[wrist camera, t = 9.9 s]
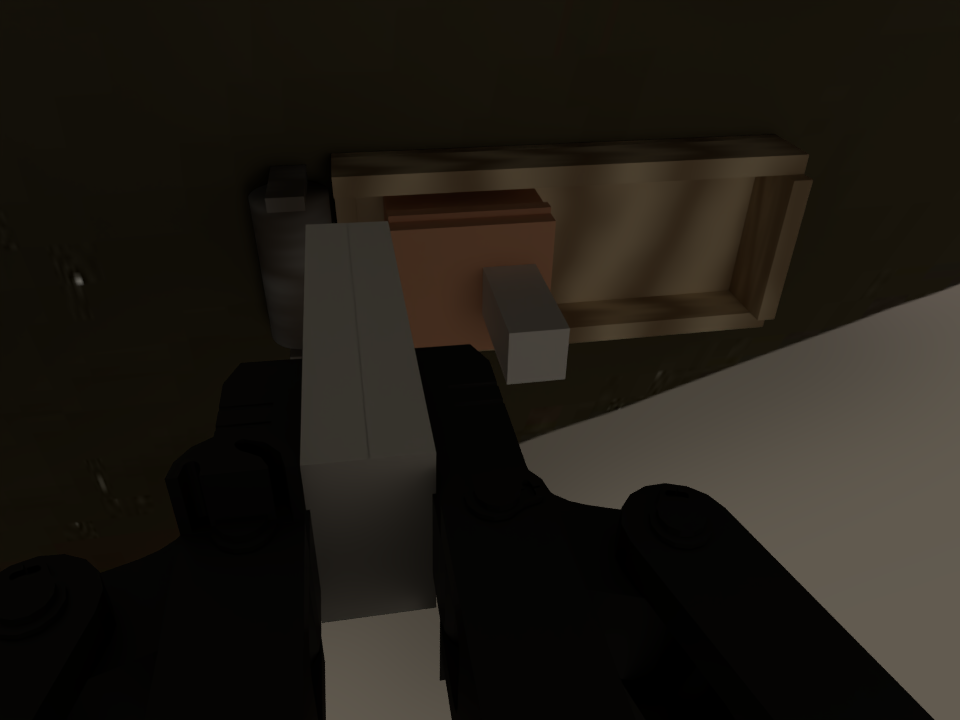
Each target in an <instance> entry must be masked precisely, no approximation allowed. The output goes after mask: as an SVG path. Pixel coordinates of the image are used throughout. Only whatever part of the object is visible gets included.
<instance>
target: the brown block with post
mask: <svg viewBox="0 0 960 720" xmlns="http://www.w3.org/2000/svg"><path fill="white" fill-rule="evenodd" d="M383 206H384V221H388V224H389V228H390V233H391V238H392V243H393V248H394V252H395V257H396V262H397V267H398V272H399V276H400V281H401V286H402V291H403V296H404V300H405V305H406V310H407V315H408V320H409V324H410V329H411V334H412V339H413V344H414V348H423V347H436V346H450V345H464V344H471V345H472V346H473V347H474V348H475V349H476V350H477V351H479V350H490V349H495V352H496V355H497V358H498V360H499V363H500V366H501V369H502V372H503V375H504V377H505V380H506V383H507V384H517V383H528V382H539V381H549V380H560V379H565V375H566V364H567V354H568V344H569V333H570V328H569V326H568V324H567V322H566V320H565V318H564V316H563V314H562V313H561V311H560V309H559V307H558V305H557V303H556V301H555V299H554V298H553V296H552V294H551V279H552V266H553V253H554V241H555V228H556V220H555V219H554V217H553V216H552V214H551V206H550V205H549V203H548V202H543V201H542V199H541V197H540V196H539V194H538V193H537V191H536V190H535V188H530V189H511V190H492V191H473V192H453V193H434V194H415V195H396V196H383Z"/></svg>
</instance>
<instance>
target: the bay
mask: <svg viewBox="0 0 960 720" xmlns="http://www.w3.org/2000/svg"><path fill="white" fill-rule="evenodd" d="M808 157H809V154H808V153H806V152H804V151H802V150H801V149H799V148H797V147H796V146H794V145H792V144H791V143H789V142H787V141H786V140H784V139H782V138H781V137H779V136H777V135H775V134H772V135H749V136H725V137H702V138H679V139H655V140H632V141H609V142H586V143H562V144H539V145H516V146H492V147H469V148H446V149H423V150H399V151H376V152H353V153H331V176H332V187H333V196H334V199H335V206H336V215H337V223H356V222H379V221H384V206H383V196H396V195H415V194H434V193H453V192H473V191H492V190H511V189H530V188H535V190H536V191H537V193H538V194H539V196H540V197H541V199H542V201H543V202H548V203H549V205H550V206H551V214H552V216H553V217H554V219H555V220H556V228H555V241H554V253H553V266H552V279H551V294H552V296H553V298H554V299H555V301H556V303H557V305H558V307H559V309H560V311H561V313H562V314H563V316H564V318H565V320H566V322H567V324H568V326H569V328H570V333H569V343H580V342H592V341H603V340H615V339H626V338H638V337H649V336H661V335H673V334H684V333H696V332H707V331H719V330H730V329H742V328H753V327H763V323H764V320H769V319H774V318H775V314H776V311H777V307H778V303H779V300H780V296H781V293H782V289H783V286H784V282H785V278H786V275H787V271H788V268H789V264H790V261H791V257H792V253H793V250H794V246H795V243H796V239H797V236H798V232H799V228H800V225H801V221H802V218H803V214H804V211H805V207H806V203H807V200H808V196H809V193H810V189H811V186H812V182H813V180H812V179H811V178H809V177H808V176H806V175H805V174H804V172H805V169H806V165H807V161H808ZM248 199H249V205H250V211H251V216H252V222H253V228H254V234H255V240H256V245H257V251H258V257H259V263H260V268H261V274H262V280H263V286H264V292H265V297H266V303H267V309H268V315H269V320H270V326H271V332H272V337H273V339H274V341H275V342H276V343H278V344H279V345H281V346H284V347H287V348H291V353H290V359H302V358H303V316H304V274H305V232H306V225H309V224H332V220H331V210H330V201H329V192H328V189H327V188H326V187H325V186H323V185H321V184H318V183H315V182H310V181H307V170H306V165H289V166H270V172H269V178H268V183H267V184H266V185H263V186H260V187H258V188H256V189H255V190H253V191H252V192H251V193H250V194H249V196H248ZM490 350H495V349H490ZM479 351H488V350H479Z"/></svg>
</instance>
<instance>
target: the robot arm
mask: <svg viewBox="0 0 960 720" xmlns="http://www.w3.org/2000/svg"><path fill="white" fill-rule="evenodd" d="M165 481H166V485H167V488H168V492H169V496H170V499H171V503H172V506H173V510H174V513H175V517H176V521H177V524H178V528H179V531H180V536H179V537H178V538H177V539H176V540H175V541H173V542H172V543H170V544H169V545H167V546H165V547H164V548H162V549H161V550H159V551H157V552H155V553H153V554H150V555H148V556H146V557H144V558H141V559H139V560H136V561H133V562H130V563H128V564H125V565H122V566H119V567H116V568H114V569H111V570H108V571H105V572H102V573H100V572H99V571H98V570H97V569H96V568H95V567H94V566H92V565H91V564H90V563H89V562H88V561H87V560H86V559H82V558H78V557H74V556H69V555H65V554H62V555H50V556H38V557H35V558H32V559H29V560H26V561H23V562H20V563H18V564H15V565H12V566H9V567H8V568H6V569H4V570H3V571H1V572H0V720H326V703H325V660H324V653H323V646H322V639H321V621H322V623H325V622H331V621H339V620H347V619H354V618H362V617H368V616H376V615H384V614H390V613H398V612H406V611H413V610H420V609H428V608H435V607H436V597H437V603H438V608H439V615H440V680H446V686H447V692H448V698H449V705H450V711H451V717H452V720H934V719H933V718H932V717H931V716H930V715H929V714H928V713H927V712H926V711H925V710H924V709H923V708H922V707H921V706H920V705H919V704H918V703H917V702H916V701H915V700H914V699H913V698H912V696H911V695H910V694H909V693H907V691H906V690H904V688H903V687H902V686H900V685H899V683H898V682H897V681H896V680H895V679H894V678H893V677H892V676H891V675H890V674H889V673H888V672H887V671H886V670H885V669H884V668H883V667H882V666H881V665H880V664H879V663H878V662H877V661H876V660H875V659H874V658H873V657H872V656H871V655H870V654H869V653H868V652H867V651H866V650H865V649H864V648H863V647H862V646H861V645H860V644H859V643H858V642H857V641H856V640H855V639H854V638H853V637H852V636H851V635H850V634H849V633H848V632H847V631H846V630H845V629H844V628H843V627H842V626H841V625H840V624H839V623H838V622H837V621H836V620H835V619H834V618H833V617H832V616H831V615H830V614H829V613H828V612H827V611H826V610H825V608H823V607H822V606H821V604H819V602H817V600H815V598H814V597H813V596H812V595H811V594H810V593H809V592H807V590H806V589H805V588H804V587H803V586H802V585H801V584H800V583H799V582H798V581H797V580H796V579H795V578H794V577H793V576H792V575H791V574H790V573H789V572H788V571H787V570H786V569H785V568H784V567H783V566H782V565H781V564H780V563H779V562H778V561H777V560H776V559H775V558H774V557H773V556H772V555H771V554H770V553H769V552H768V551H767V550H766V549H765V548H764V547H763V546H762V545H761V544H760V543H759V542H758V541H757V540H756V539H755V538H754V537H753V536H752V535H751V534H750V533H749V532H748V531H747V530H746V529H745V528H744V527H743V526H742V525H741V524H740V523H739V521H738V520H737V519H736V518H735V517H734V516H732V514H731V513H730V512H729V511H728V510H727V509H726V508H725V507H723V506H722V505H721V504H719V503H718V502H717V501H715V500H714V499H713V498H711V497H710V496H709V495H707V494H704V493H702V492H700V491H697V490H695V489H692V488H690V487H687V486H681V485H674V484H666V483H664V484H657V485H650V486H645V487H643V488H641V489H639V490H638V491H636V492H634V493H632V494H630V496H629V497H628V499H627V500H626V502H625V503H624V505H623V506H622V509H621V510H619V509H612V508H604V507H598V506H591V505H584V504H580V503H576V502H571V501H568V500H566V499H563V498H561V497H559V496H556V495H554V494H552V493H551V492H550V491H549V489H548V488H547V486H546V485H545V483H544V482H543V480H542V479H541V478H539V477H538V476H537V475H535V474H534V473H532V472H531V471H529V470H528V468H527V466H526V463H525V461H524V458H523V455H522V452H521V449H520V447H519V444H518V441H517V438H516V435H515V432H514V429H513V427H512V424H511V421H510V418H509V415H508V412H507V410H506V407H505V404H504V403H503V398H502V396H501V393H500V390H499V387H498V386H497V381H496V379H495V376H494V373H493V370H492V367H491V364H490V362H489V360H488V359H486V358H485V357H484V356H483V355H482V354H481V353H480V352H479V351H477V350H476V349H475V348H474V347H473V346H472V345H471V344H464V345H450V346H436V347H423V348H414V344H413V339H412V334H411V329H410V324H409V320H408V315H407V310H406V305H405V300H404V296H403V291H402V286H401V281H400V276H399V272H398V267H397V262H396V257H395V252H394V248H393V243H392V238H391V233H390V228H389V224H388V221H379V222H356V223H332V224H309V225H306V232H305V274H304V316H303V358H302V359H290V360H276V361H262V362H249V363H241V364H240V365H239V366H238V367H237V368H236V369H235V371H234V372H233V373H232V374H231V375H230V377H229V378H228V379H227V380H226V381H225V382H224V384H223V388H222V393H221V399H220V405H219V412H218V416H217V422H216V431H215V433H214V437H213V438H210V439H208V440H206V441H204V442H202V443H200V444H198V445H195V446H193V447H191V448H190V449H189V450H187V451H186V452H185V453H184V454H183V455H182V456H180V457H179V458H178V459H177V460H176V461H175V462H174V463H173V465H172V467H171V468H170V470H169V472H168V474H167V476H166V478H165Z"/></svg>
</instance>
